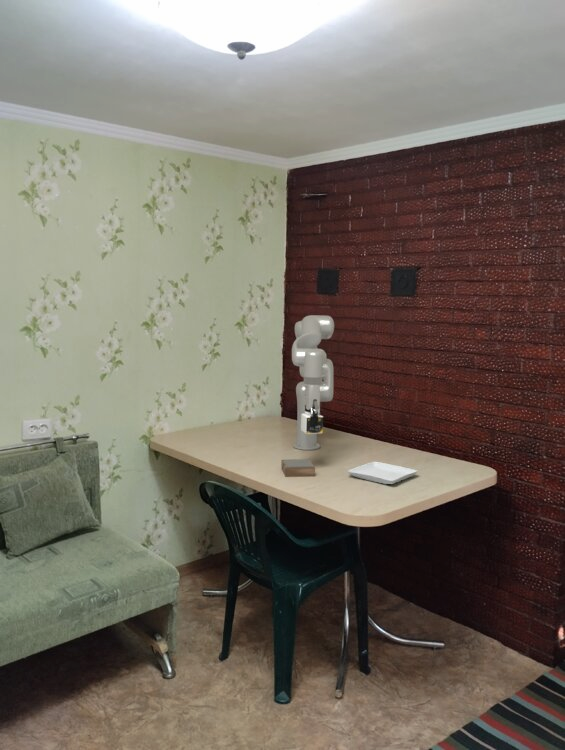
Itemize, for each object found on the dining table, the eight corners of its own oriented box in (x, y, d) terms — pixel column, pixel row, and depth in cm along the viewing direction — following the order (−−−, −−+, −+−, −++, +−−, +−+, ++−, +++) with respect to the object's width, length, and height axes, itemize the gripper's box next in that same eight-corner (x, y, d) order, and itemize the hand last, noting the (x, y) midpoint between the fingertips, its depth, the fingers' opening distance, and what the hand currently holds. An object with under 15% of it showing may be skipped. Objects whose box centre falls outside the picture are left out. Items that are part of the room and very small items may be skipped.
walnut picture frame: (281, 468, 266) (281, 459, 266) (309, 468, 268) (309, 458, 268) (285, 476, 255) (285, 467, 254) (315, 476, 256) (315, 466, 256)
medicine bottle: (306, 434, 257) (307, 404, 255) (300, 430, 264) (301, 401, 262) (322, 433, 259) (323, 404, 258) (316, 429, 266) (317, 401, 264)
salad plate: (373, 467, 272) (373, 460, 271) (418, 477, 259) (419, 469, 258) (345, 478, 256) (345, 470, 255) (392, 489, 242) (392, 480, 242)
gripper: (299, 378, 267) (298, 419, 269) (308, 384, 250) (307, 428, 252) (317, 378, 268) (316, 419, 270) (327, 384, 251) (325, 428, 253)
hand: (311, 423), depth 261 cm, fingers closed on medicine bottle, 7 cm apart
